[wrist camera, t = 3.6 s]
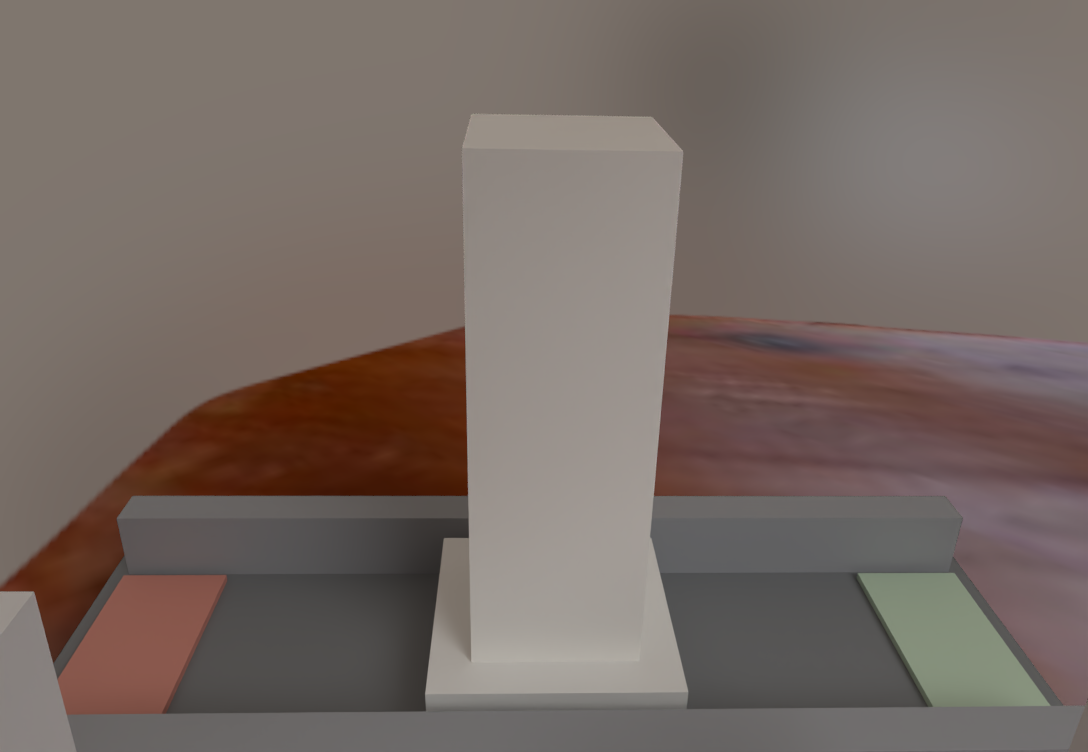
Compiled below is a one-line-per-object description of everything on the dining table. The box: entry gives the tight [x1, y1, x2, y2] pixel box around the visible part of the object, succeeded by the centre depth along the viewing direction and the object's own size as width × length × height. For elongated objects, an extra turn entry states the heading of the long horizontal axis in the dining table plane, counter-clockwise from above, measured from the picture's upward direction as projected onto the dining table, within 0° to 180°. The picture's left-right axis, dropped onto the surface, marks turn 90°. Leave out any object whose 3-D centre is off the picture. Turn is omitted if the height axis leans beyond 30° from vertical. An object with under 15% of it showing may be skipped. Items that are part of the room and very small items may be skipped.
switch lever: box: [425, 114, 688, 711], centre depth 21 cm, size 6×6×13 cm
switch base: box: [53, 496, 1085, 752], centre depth 24 cm, size 26×10×4 cm, turn 92°
